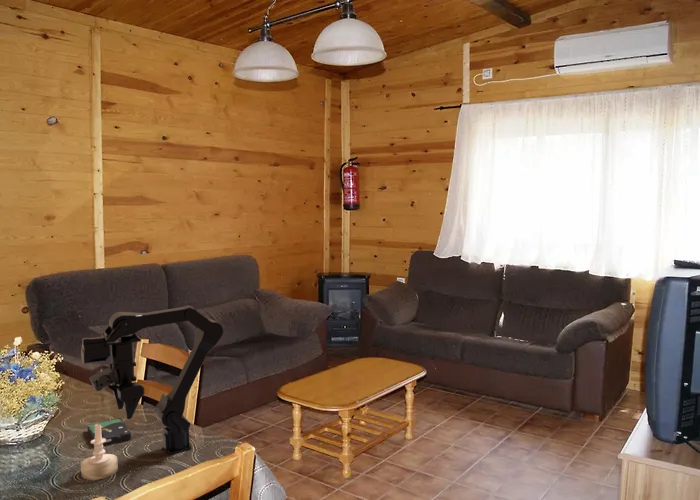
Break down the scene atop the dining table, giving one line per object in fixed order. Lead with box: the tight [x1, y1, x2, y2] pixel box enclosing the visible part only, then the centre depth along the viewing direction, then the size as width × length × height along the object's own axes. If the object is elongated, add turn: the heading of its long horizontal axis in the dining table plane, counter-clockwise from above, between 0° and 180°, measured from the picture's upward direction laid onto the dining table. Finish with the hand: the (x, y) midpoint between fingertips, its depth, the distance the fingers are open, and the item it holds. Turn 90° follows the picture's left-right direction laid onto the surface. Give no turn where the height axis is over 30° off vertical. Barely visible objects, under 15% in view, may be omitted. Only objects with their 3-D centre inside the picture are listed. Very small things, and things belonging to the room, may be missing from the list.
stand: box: [80, 453, 119, 481], centre depth 162 cm, size 9×9×3 cm
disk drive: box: [87, 417, 132, 447], centre depth 187 cm, size 10×3×15 cm
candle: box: [89, 422, 110, 465], centre depth 162 cm, size 5×5×10 cm
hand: (124, 413), depth 169 cm, fingers open, 9 cm apart
